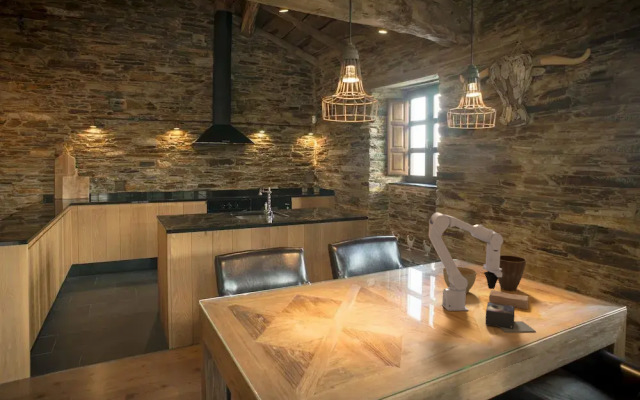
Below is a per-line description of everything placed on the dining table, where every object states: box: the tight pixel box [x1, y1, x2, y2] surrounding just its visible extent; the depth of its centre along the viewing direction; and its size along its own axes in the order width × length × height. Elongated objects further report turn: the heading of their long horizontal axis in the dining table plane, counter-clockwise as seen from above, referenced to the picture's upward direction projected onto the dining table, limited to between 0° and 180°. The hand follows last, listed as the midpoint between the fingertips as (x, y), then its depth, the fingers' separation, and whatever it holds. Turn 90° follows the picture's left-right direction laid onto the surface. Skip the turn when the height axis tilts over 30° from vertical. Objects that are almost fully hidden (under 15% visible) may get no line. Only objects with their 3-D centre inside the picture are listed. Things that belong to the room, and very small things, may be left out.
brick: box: [488, 289, 530, 310], centre depth 194 cm, size 17×8×5 cm, turn 63°
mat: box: [499, 320, 536, 333], centre depth 166 cm, size 12×10×1 cm
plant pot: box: [497, 254, 527, 292], centre depth 216 cm, size 15×15×16 cm
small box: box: [484, 302, 516, 329], centre depth 170 cm, size 11×6×10 cm
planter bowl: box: [442, 266, 478, 294], centre depth 210 cm, size 16×16×11 cm
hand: (491, 288), depth 186 cm, fingers closed
